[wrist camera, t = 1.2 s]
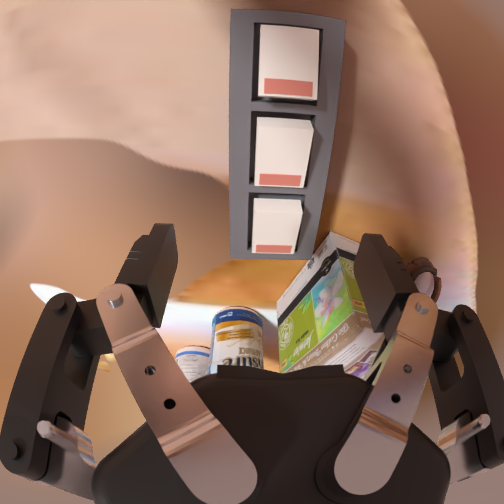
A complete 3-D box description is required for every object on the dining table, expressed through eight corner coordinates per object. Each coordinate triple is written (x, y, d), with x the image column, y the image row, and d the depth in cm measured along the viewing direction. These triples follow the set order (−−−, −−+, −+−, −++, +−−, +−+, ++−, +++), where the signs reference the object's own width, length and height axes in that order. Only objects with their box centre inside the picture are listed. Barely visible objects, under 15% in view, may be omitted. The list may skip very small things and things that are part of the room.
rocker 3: (253, 198, 26) (253, 211, 25) (300, 199, 27) (302, 213, 25) (252, 239, 31) (251, 253, 30) (292, 240, 31) (293, 254, 30)
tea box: (327, 227, 34) (358, 326, 23) (384, 252, 37) (423, 340, 26) (273, 301, 43) (278, 391, 32) (327, 315, 46) (342, 397, 34)
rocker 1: (260, 30, 17) (260, 24, 16) (314, 35, 18) (319, 30, 16) (257, 96, 20) (258, 95, 19) (312, 100, 20) (317, 99, 19)
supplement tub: (227, 365, 57) (224, 430, 46) (186, 367, 58) (179, 428, 47) (213, 341, 51) (206, 415, 39) (167, 344, 52) (155, 413, 41)
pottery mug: (361, 283, 42) (389, 300, 34) (397, 237, 41) (429, 245, 33) (399, 323, 44) (426, 342, 36) (431, 281, 43) (461, 294, 35)
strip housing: (234, 16, 19) (230, 9, 15) (331, 24, 19) (345, 20, 16) (232, 234, 35) (230, 258, 32) (305, 236, 35) (311, 260, 32)
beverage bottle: (202, 321, 47) (189, 436, 31) (231, 296, 42) (224, 428, 27) (242, 339, 50) (240, 446, 35) (273, 317, 46) (279, 437, 30)
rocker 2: (256, 116, 21) (257, 126, 20) (310, 120, 22) (313, 130, 20) (254, 174, 26) (254, 186, 25) (300, 176, 26) (303, 188, 25)
